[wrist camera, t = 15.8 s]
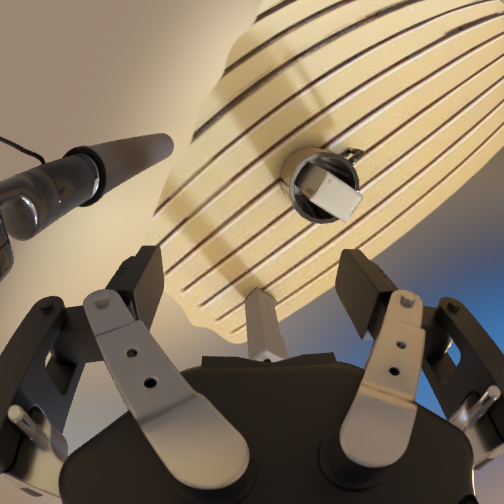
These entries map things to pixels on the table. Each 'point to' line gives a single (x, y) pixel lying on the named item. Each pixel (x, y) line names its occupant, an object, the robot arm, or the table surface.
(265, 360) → the vintage mobile phone
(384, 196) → the table surface
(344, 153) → the mug
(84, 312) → the robot arm
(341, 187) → the cosmetic box
